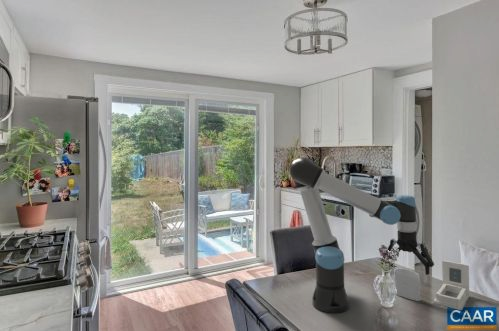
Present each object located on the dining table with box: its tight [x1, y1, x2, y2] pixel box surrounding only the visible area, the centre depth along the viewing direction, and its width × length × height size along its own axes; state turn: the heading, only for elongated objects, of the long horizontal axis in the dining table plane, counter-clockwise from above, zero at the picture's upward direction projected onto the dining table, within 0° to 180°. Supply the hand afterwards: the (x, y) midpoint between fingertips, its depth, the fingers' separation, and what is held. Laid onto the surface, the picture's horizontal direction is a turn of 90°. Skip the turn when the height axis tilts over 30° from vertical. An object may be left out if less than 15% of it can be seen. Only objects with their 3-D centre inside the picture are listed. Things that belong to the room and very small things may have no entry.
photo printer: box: [394, 267, 421, 302], centre depth 137 cm, size 10×4×12 cm, turn 39°
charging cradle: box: [433, 259, 470, 311], centre depth 134 cm, size 10×18×14 cm, turn 136°
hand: (408, 277), depth 137 cm, fingers open, 13 cm apart
